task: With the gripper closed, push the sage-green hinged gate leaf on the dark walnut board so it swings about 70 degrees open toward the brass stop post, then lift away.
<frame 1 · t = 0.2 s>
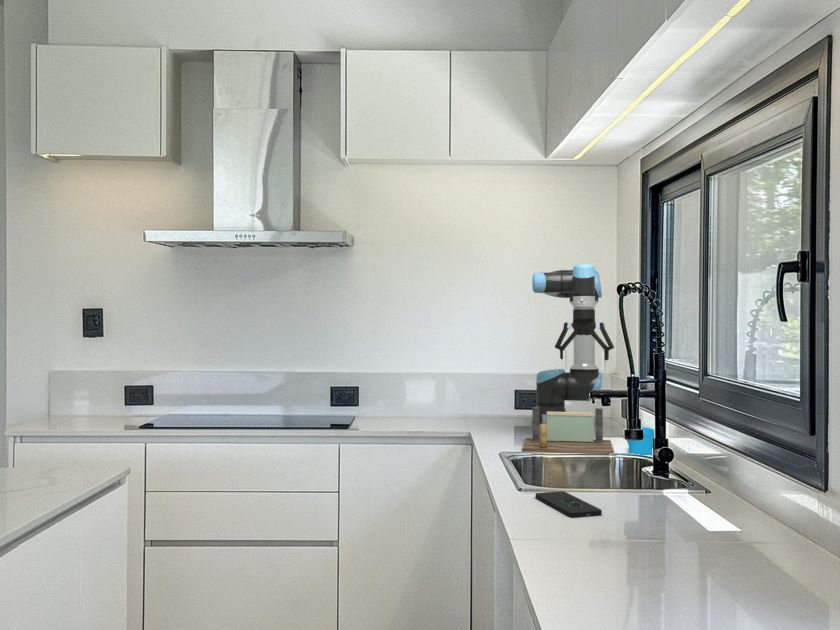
hand: (584, 369, 263), 27 cm above the table, fingers open, 13 cm apart
gate frame: (544, 444, 266), on the table
mug: (638, 453, 249), on the table
gate leaf: (567, 426, 265), point 6 cm above the table, hinge at 0.0°
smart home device: (567, 508, 179), on the table
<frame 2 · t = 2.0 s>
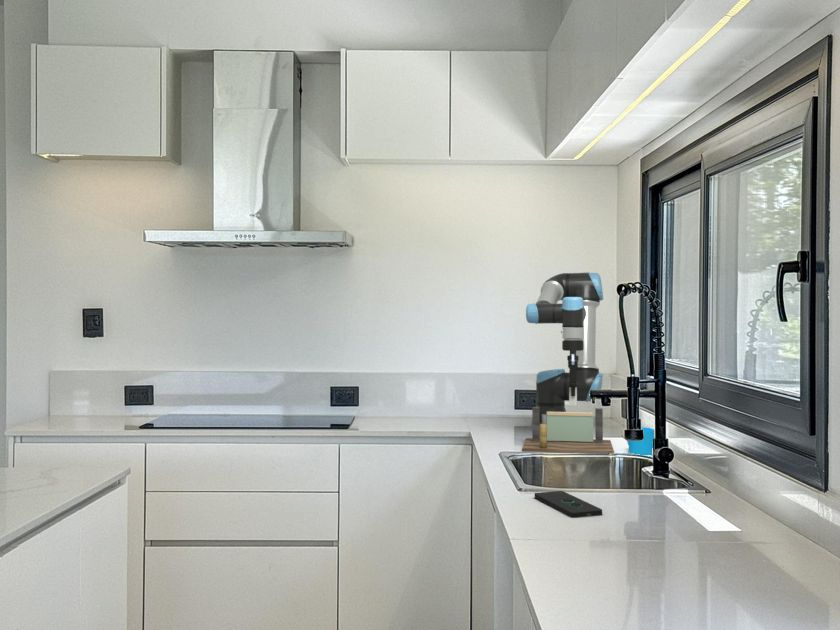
hand: (573, 404, 271), 13 cm above the table, fingers closed
nothing on the table moved.
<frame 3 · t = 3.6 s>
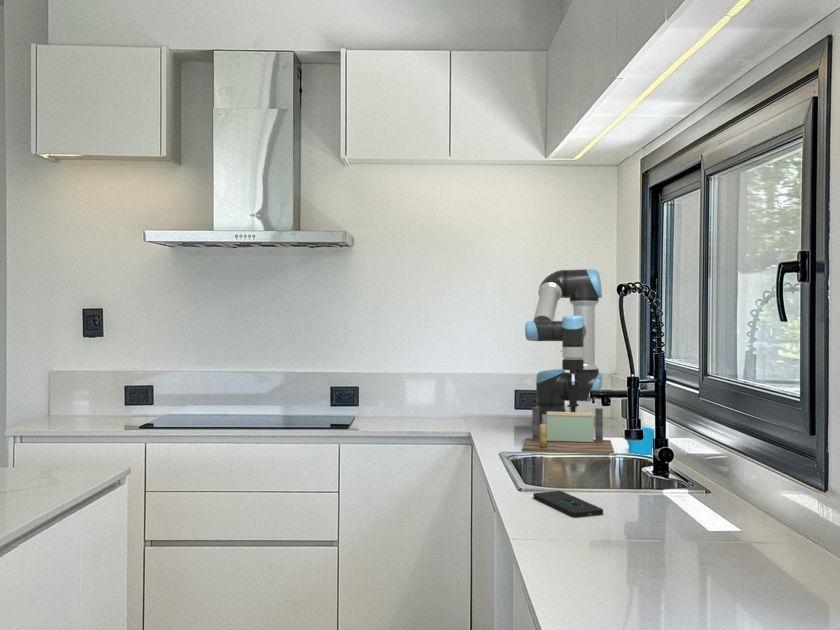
hand: (573, 424, 267), 7 cm above the table, fingers closed
gate leaf: (567, 426, 265), point 7 cm above the table, hinge at 1.0°, touching gripper
everything else where it was.
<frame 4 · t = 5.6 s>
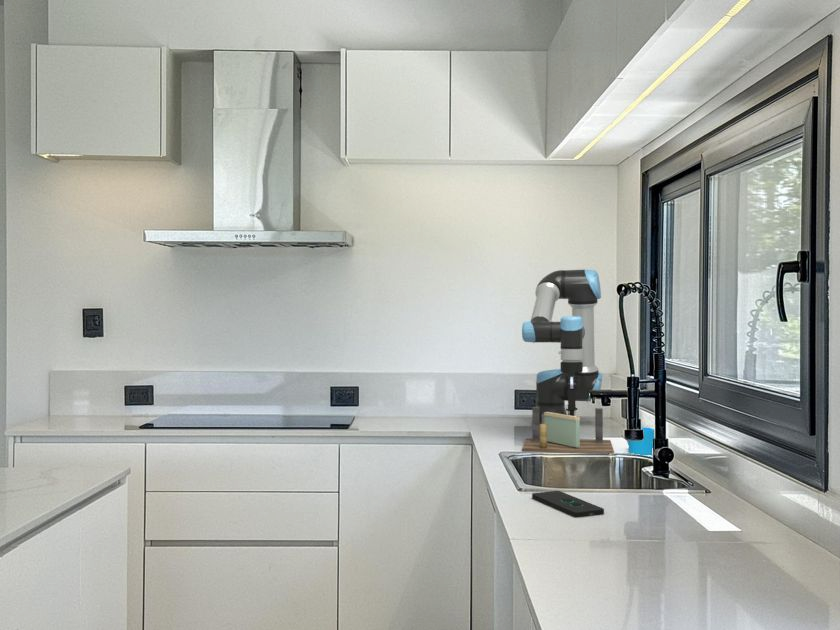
hand: (571, 429, 259), 6 cm above the table, fingers closed
gate leaf: (559, 428, 259), point 6 cm above the table, hinge at 47.2°, touching gripper
everything else where it was.
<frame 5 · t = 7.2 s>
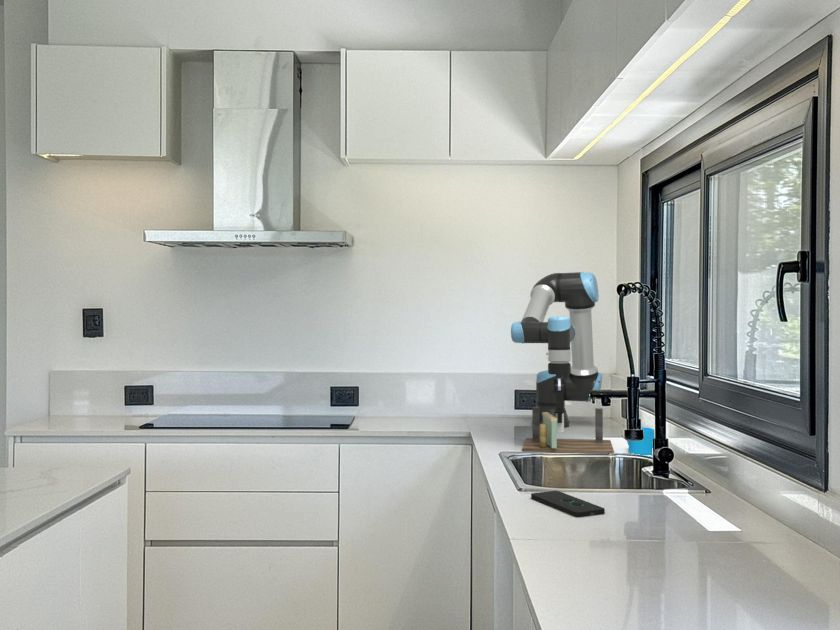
hand: (559, 432, 253), 6 cm above the table, fingers closed
gate leaf: (549, 429, 258), point 6 cm above the table, hinge at 77.3°, touching gripper
everything else where it was.
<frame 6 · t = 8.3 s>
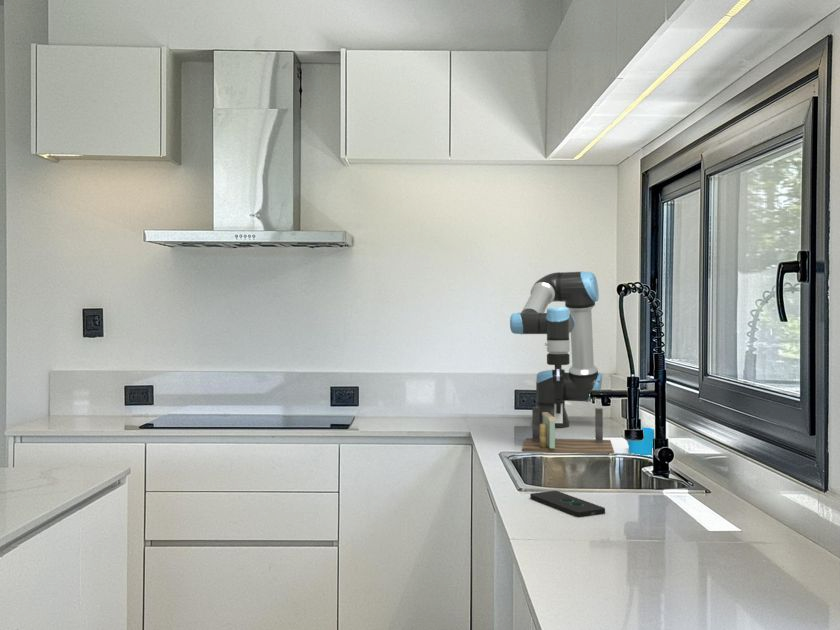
hand: (558, 422, 253), 9 cm above the table, fingers closed
gate leaf: (548, 429, 258), point 6 cm above the table, hinge at 79.4°
everything else where it was.
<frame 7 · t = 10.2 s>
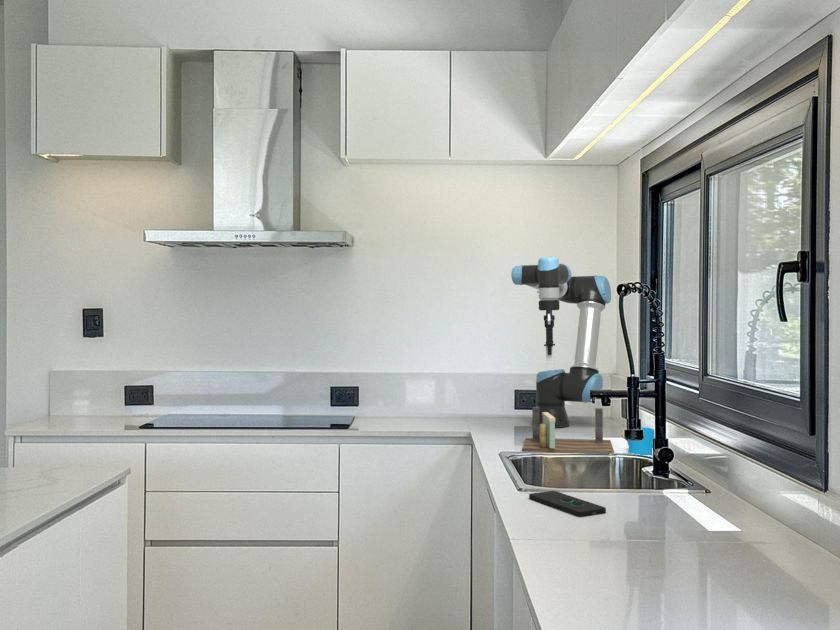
hand: (549, 363, 276), 28 cm above the table, fingers closed
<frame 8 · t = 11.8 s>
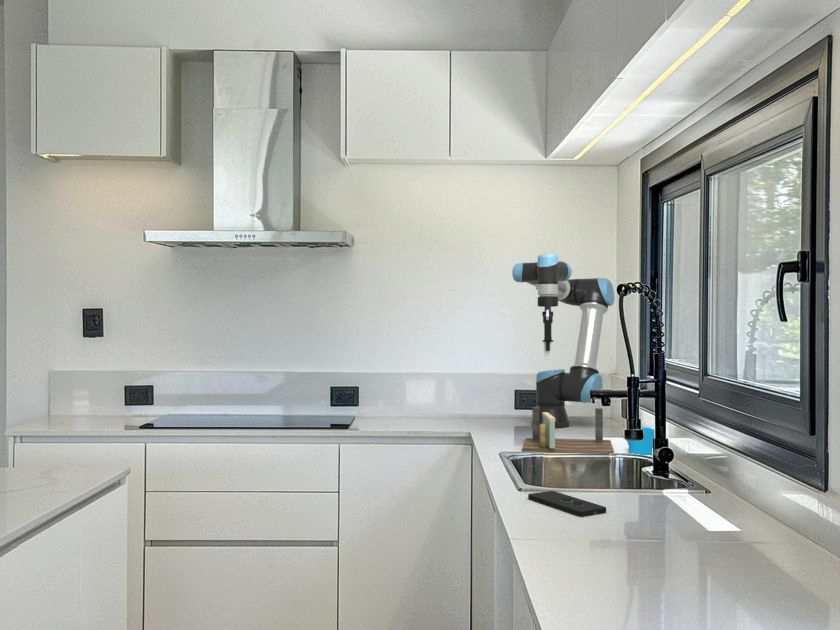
hand: (548, 359, 278), 29 cm above the table, fingers closed
at the end: gate leaf at +79° (first picture: +0°); mug moved 0.3 cm from its start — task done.
